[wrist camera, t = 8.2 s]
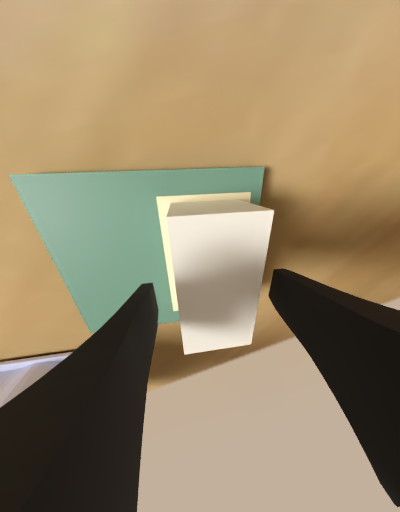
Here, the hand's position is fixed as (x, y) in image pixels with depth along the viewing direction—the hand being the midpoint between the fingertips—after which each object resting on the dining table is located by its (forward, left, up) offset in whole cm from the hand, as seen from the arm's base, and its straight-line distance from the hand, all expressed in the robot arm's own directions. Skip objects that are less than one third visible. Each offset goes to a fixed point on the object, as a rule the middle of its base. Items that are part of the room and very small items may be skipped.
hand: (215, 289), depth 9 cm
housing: (0, 0, -4) cm, 4 cm away
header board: (-3, 0, -5) cm, 6 cm away
